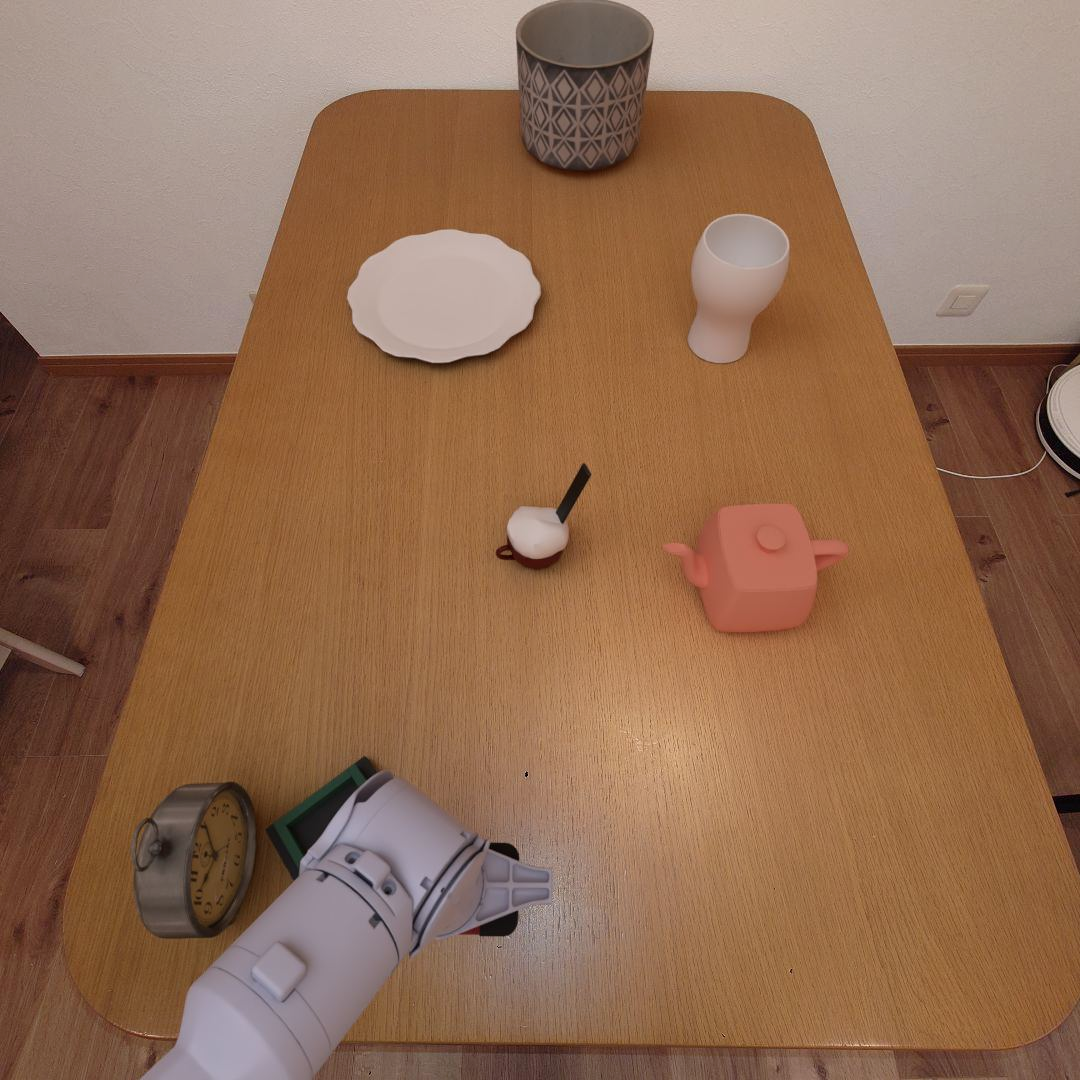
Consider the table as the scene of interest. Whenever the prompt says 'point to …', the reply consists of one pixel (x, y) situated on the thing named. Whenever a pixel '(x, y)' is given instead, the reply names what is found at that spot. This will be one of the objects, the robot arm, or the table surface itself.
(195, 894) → the alarm clock
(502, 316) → the plate
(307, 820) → the base pad
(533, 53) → the planter
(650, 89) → the table surface
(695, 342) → the cup
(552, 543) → the cocoa
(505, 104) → the table surface
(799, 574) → the teapot
